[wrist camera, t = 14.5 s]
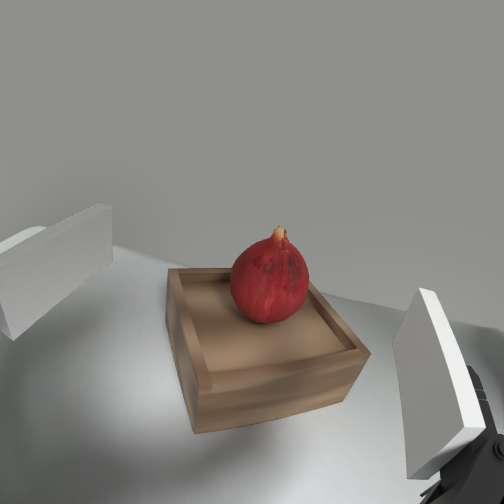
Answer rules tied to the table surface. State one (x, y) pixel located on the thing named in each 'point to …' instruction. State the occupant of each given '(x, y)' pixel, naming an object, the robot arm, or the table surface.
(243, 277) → the onion
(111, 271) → the table surface
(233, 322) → the walnut tray
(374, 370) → the table surface
